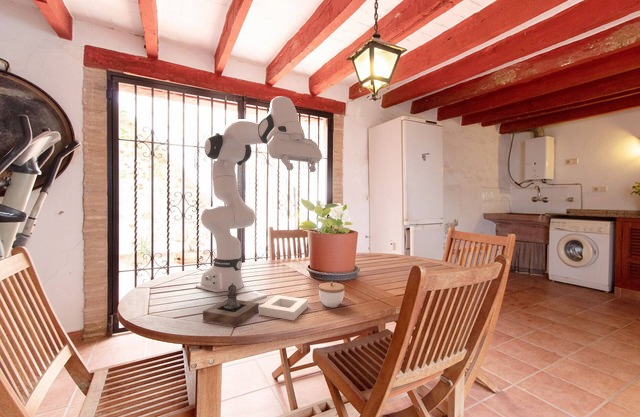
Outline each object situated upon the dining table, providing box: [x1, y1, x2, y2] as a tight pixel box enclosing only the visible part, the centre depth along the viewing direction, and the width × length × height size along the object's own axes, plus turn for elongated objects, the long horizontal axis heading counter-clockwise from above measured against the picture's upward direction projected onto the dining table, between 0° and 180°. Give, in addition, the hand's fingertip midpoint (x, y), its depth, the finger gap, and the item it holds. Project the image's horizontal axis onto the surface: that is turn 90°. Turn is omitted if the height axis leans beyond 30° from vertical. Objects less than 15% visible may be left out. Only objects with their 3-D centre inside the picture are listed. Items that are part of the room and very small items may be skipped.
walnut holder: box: [202, 298, 260, 327], centre depth 106 cm, size 14×14×3 cm
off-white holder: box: [258, 294, 309, 321], centre depth 112 cm, size 14×14×3 cm
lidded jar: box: [318, 281, 346, 308], centre depth 119 cm, size 11×11×9 cm
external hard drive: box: [236, 290, 268, 302], centre depth 125 cm, size 2×8×12 cm
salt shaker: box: [224, 283, 240, 312], centre depth 106 cm, size 6×6×12 cm
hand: (302, 170), depth 97 cm, fingers open, 8 cm apart
